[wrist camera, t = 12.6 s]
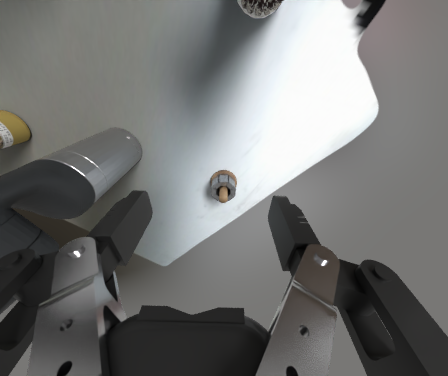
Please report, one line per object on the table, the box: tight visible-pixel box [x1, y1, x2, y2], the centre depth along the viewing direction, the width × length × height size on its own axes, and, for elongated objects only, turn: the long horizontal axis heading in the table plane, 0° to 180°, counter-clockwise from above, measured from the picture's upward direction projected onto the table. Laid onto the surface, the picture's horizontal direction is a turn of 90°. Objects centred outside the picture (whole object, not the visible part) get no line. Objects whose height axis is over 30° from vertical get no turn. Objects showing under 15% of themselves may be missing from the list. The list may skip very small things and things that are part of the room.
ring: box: [211, 174, 236, 201], centre depth 42 cm, size 6×6×4 cm
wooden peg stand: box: [211, 170, 237, 203], centre depth 41 cm, size 7×7×8 cm
